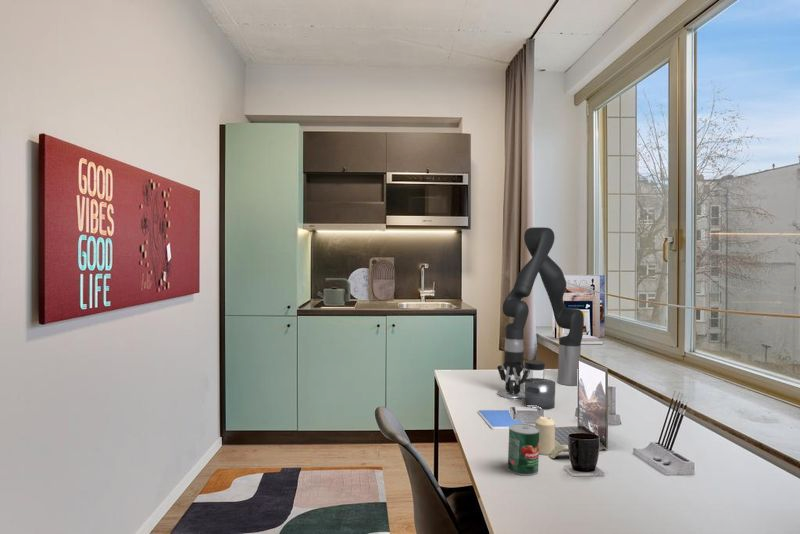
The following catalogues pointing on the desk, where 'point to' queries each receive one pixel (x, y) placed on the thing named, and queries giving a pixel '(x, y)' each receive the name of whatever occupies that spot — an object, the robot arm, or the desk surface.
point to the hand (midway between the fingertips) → (512, 392)
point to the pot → (540, 393)
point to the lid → (511, 392)
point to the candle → (546, 434)
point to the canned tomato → (523, 449)
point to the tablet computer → (498, 418)
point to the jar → (534, 369)
